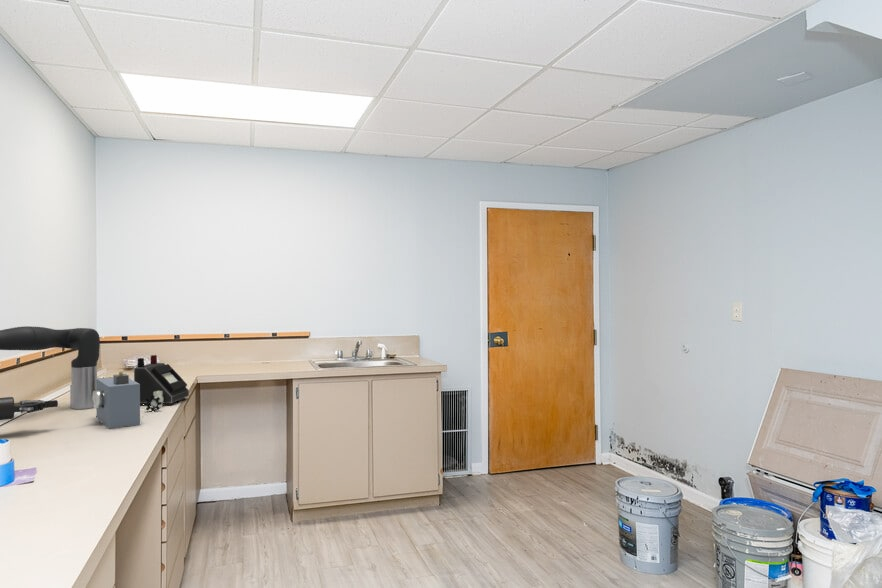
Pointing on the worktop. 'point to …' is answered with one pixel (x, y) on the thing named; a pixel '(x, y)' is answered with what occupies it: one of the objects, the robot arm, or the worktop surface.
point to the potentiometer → (121, 378)
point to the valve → (155, 401)
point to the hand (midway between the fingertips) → (57, 403)
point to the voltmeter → (159, 381)
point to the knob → (98, 399)
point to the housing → (119, 403)
